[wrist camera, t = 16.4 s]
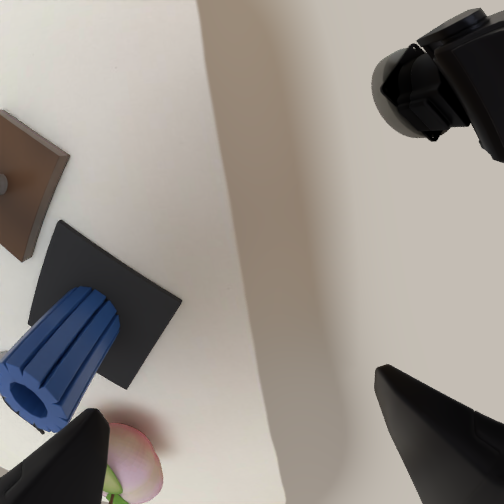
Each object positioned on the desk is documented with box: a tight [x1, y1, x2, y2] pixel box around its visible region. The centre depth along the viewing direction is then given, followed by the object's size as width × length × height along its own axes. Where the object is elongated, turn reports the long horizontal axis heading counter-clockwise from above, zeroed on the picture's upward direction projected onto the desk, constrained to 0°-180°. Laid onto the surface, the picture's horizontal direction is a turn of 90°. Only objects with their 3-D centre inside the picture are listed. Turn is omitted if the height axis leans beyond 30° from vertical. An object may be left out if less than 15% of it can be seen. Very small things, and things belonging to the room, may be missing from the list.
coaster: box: [28, 220, 182, 390], centre depth 21 cm, size 11×11×1 cm
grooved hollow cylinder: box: [0, 286, 120, 433], centre depth 16 cm, size 5×5×10 cm
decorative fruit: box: [102, 423, 163, 504], centre depth 21 cm, size 9×8×10 cm
